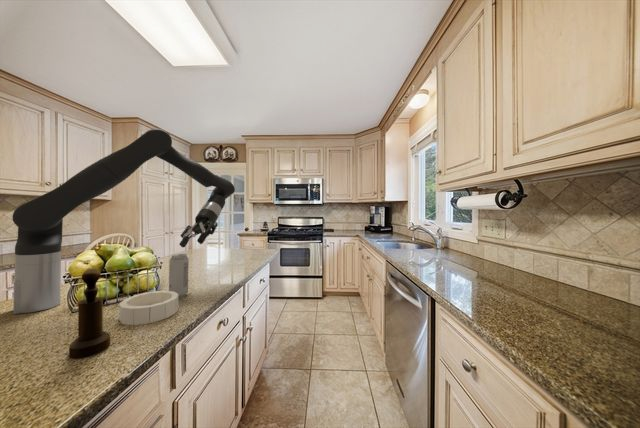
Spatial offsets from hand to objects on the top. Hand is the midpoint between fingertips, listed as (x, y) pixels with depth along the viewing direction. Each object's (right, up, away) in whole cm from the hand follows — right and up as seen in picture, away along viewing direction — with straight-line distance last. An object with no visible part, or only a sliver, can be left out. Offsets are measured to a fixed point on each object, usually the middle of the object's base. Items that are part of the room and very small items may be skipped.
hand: (190, 244), depth 87 cm
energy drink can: (-4, -19, -1) cm, 19 cm away
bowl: (-3, -19, -16) cm, 25 cm away
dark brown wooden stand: (-3, -19, -35) cm, 40 cm away
